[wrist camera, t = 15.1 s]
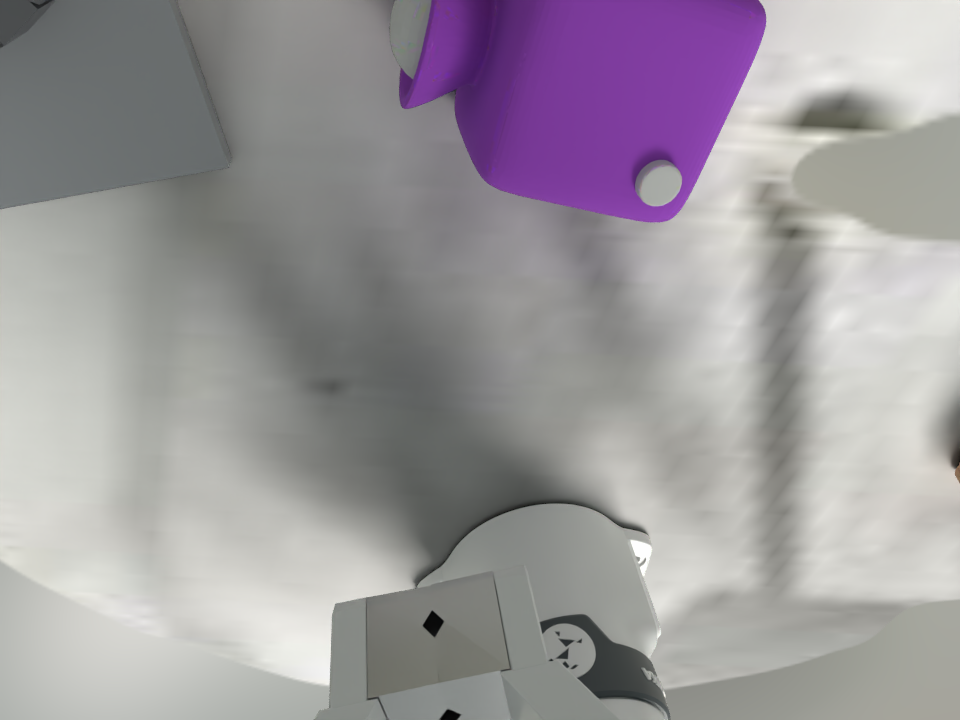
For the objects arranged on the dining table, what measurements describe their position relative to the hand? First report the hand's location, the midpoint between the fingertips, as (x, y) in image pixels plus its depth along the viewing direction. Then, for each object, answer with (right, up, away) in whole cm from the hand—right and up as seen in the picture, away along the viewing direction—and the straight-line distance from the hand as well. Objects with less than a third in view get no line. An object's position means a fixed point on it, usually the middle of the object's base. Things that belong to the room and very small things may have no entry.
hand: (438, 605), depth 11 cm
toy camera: (+3, +19, +22) cm, 30 cm away
